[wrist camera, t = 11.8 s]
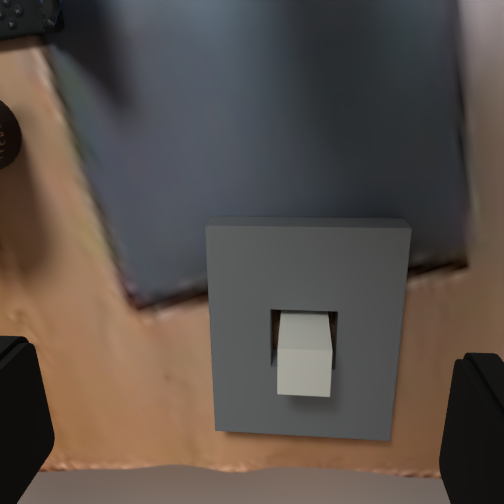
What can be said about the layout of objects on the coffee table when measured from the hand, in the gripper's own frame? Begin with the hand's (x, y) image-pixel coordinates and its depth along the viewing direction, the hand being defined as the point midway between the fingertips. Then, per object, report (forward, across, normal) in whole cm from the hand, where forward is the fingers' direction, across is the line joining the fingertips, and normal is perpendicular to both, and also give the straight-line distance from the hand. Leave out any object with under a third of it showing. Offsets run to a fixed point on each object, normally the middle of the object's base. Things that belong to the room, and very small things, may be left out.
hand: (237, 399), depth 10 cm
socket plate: (+29, -2, +14) cm, 32 cm away
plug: (+29, -2, +14) cm, 32 cm away
